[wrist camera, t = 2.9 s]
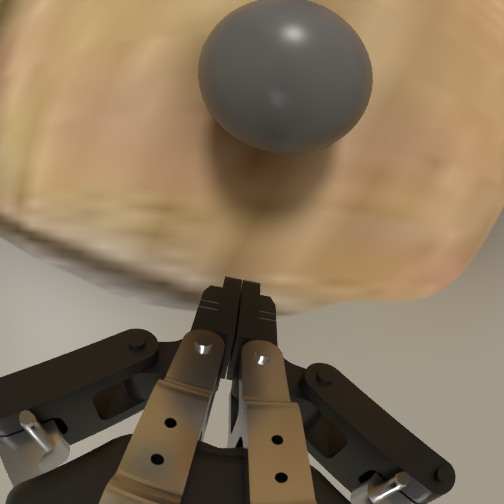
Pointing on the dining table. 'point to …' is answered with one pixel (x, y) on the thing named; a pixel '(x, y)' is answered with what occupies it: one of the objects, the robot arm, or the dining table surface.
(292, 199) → the dining table surface
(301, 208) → the dining table surface
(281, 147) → the grey rubber ball
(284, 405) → the robot arm
